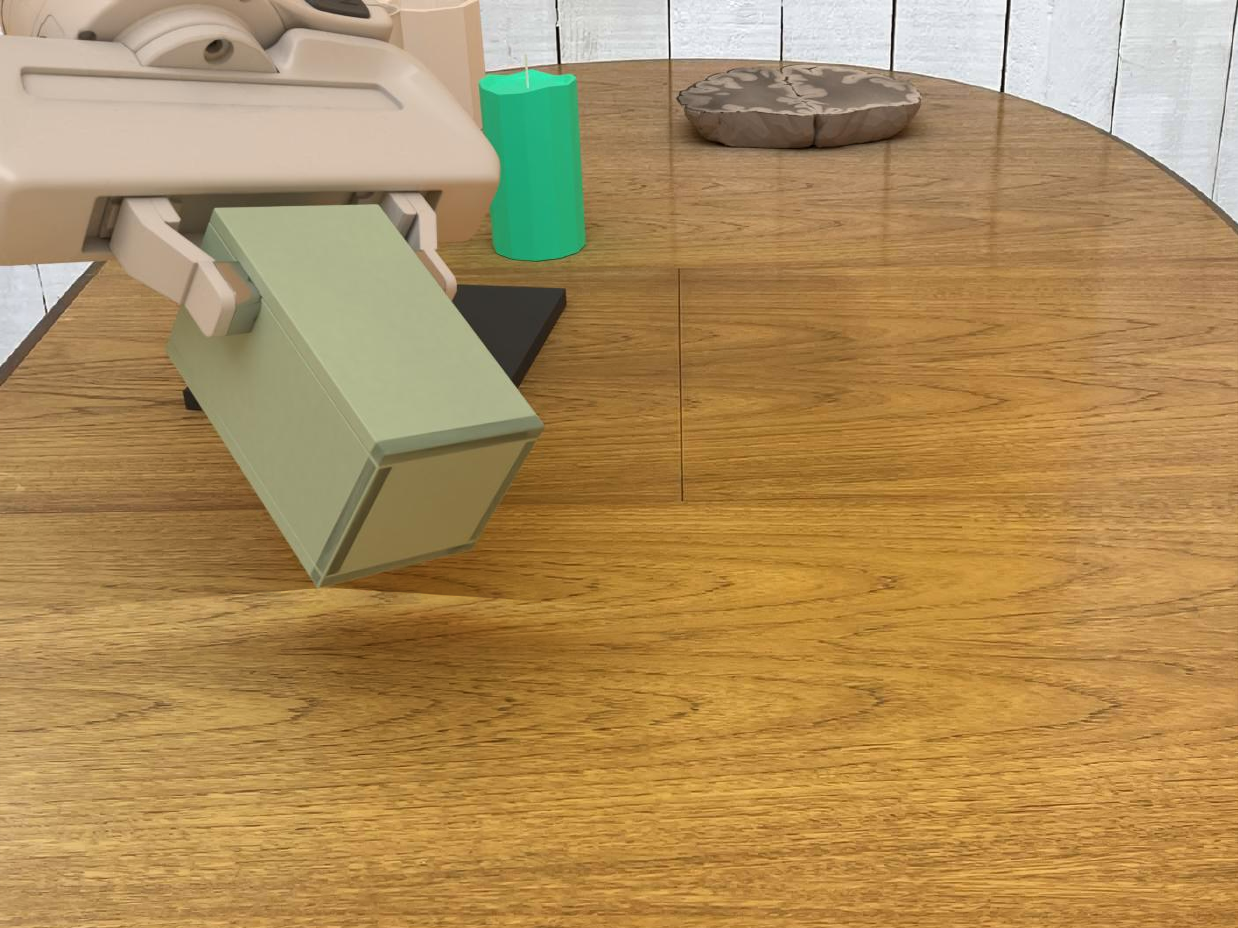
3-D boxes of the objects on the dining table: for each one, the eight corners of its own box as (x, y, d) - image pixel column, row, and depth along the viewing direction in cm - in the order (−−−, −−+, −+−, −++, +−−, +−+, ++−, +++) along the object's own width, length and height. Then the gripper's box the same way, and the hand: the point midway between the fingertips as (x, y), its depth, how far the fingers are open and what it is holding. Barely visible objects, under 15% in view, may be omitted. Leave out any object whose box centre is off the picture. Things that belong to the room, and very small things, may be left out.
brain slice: (883, 95, 125) (885, 60, 124) (937, 147, 111) (940, 108, 109) (662, 105, 123) (661, 70, 122) (687, 160, 109) (687, 120, 107)
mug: (492, 111, 122) (482, -10, 117) (486, 138, 115) (475, 10, 110) (351, 115, 121) (334, -6, 117) (336, 142, 114) (317, 14, 109)
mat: (185, 409, 71) (181, 391, 71) (304, 294, 85) (301, 278, 84) (496, 424, 69) (494, 406, 69) (566, 304, 83) (565, 287, 83)
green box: (163, 350, 50) (213, 207, 46) (321, 335, 54) (378, 203, 50) (317, 589, 46) (384, 454, 42) (472, 550, 50) (546, 426, 47)
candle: (602, 249, 91) (592, 56, 85) (516, 267, 89) (500, 69, 82) (560, 224, 96) (548, 39, 90) (478, 240, 93) (460, 51, 87)
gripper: (-141, -56, 43) (53, 255, 38) (411, 0, 58) (599, 229, 53) (-164, 116, 47) (10, 417, 42) (359, 127, 61) (531, 351, 57)
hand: (343, 312), depth 48 cm, fingers closed on green box, 6 cm apart
